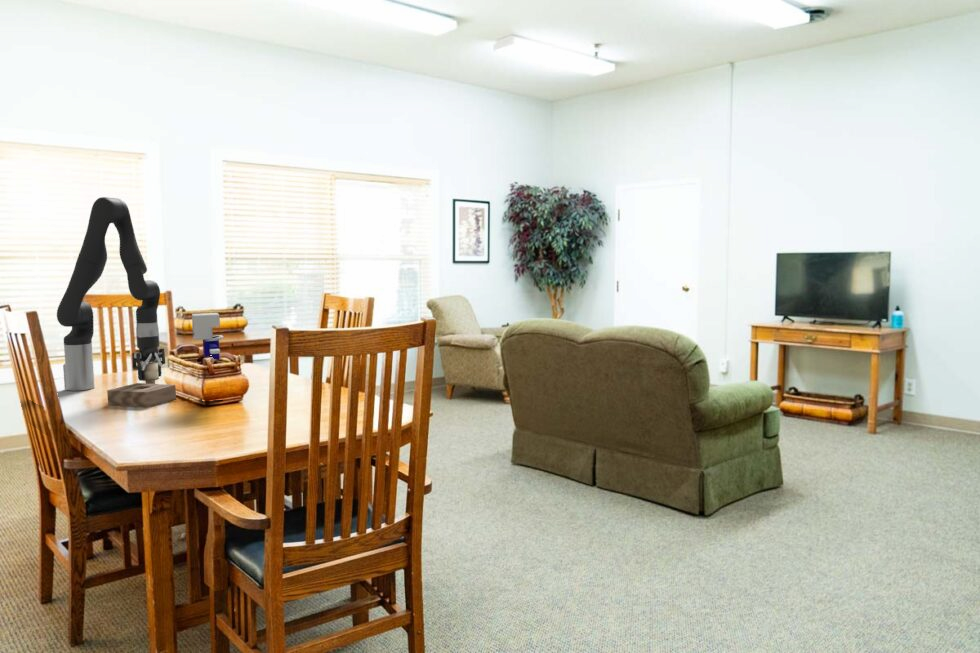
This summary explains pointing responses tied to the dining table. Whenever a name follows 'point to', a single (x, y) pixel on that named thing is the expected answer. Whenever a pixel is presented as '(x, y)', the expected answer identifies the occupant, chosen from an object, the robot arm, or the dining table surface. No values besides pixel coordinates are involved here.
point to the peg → (151, 372)
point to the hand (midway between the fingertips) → (150, 378)
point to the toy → (207, 332)
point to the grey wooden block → (141, 395)
